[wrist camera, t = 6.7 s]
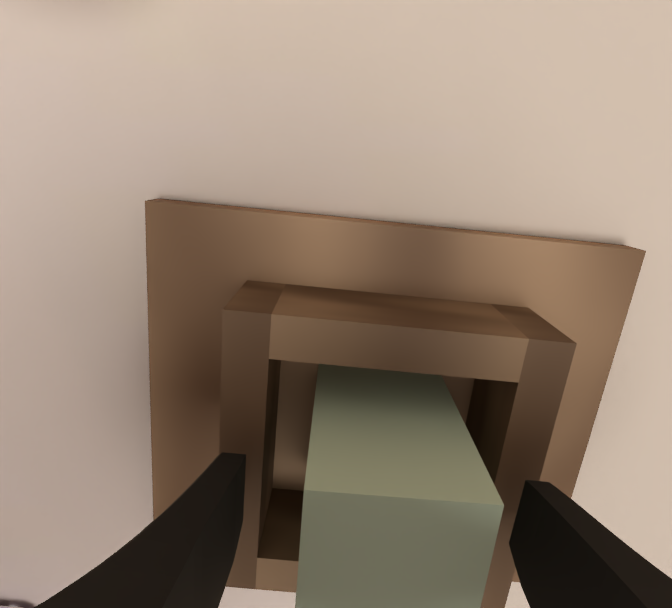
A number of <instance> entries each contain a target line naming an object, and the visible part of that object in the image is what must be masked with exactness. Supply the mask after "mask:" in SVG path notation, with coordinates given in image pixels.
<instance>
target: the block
mask: <svg viewBox="0 0 672 608" xmlns="http://www.w3.org/2000/svg"><path fill="white" fill-rule="evenodd" d="M503 508H504V504H503V502H502V500H501V498H500V496H499V494H498V492H497V489H496V487H495V485H494V483H493V481H492V479H491V477H490V475H489V473H488V471H487V469H486V467H485V465H484V463H483V460H482V458H481V456H480V454H479V452H478V450H477V448H476V446H475V444H474V442H473V440H472V438H471V436H470V434H469V431H468V429H467V427H466V425H465V423H464V421H463V419H462V417H461V415H460V413H459V411H458V409H457V407H456V405H455V403H454V400H453V398H452V396H451V394H450V392H449V390H448V388H447V386H446V384H445V382H444V380H443V378H442V376H441V375H433V374H422V373H412V372H401V371H391V370H380V369H370V368H359V367H349V366H338V365H327V364H319V365H318V373H317V382H316V390H315V399H314V407H313V416H312V424H311V433H310V441H309V450H308V458H307V467H306V475H305V484H304V494H303V508H302V521H301V535H300V549H299V563H298V577H297V590H296V604H295V608H480V607H481V603H482V598H483V594H484V590H485V585H486V581H487V577H488V573H489V568H490V564H491V560H492V555H493V551H494V547H495V542H496V538H497V534H498V530H499V525H500V521H501V517H502V512H503Z"/></svg>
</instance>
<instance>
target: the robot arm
mask: <svg viewBox="0 0 672 608" xmlns="http://www.w3.org/2000/svg"><path fill="white" fill-rule="evenodd" d="M245 469H246V454H236V453H225V452H222V453H221V454H219V455H218V456H217V457H216V458H215V459H214V461H213V462H212V463H211V464H210V465H209V466H208V467H207V468H206V469H205V471H204V472H203V473H202V474H201V475H200V476H199V477H198V478H197V479H196V480H195V481H194V482H193V483H192V484H191V485H190V486H189V487H188V488H187V489H186V490H185V491H184V492H183V493H182V494H181V495H180V496H179V497H178V498H177V499H176V500H175V501H174V502H173V503H172V504H171V505H170V506H169V507H168V508H167V509H166V510H165V511H164V512H163V513H162V514H160V515H159V516H158V517H157V518H156V519H155V520H154V521H153V522H151V523H150V524H149V525H148V526H147V527H146V528H145V529H144V530H142V531H141V532H140V533H139V534H138V535H137V536H135V537H134V538H133V539H132V540H131V541H129V542H128V543H127V544H126V545H124V546H123V547H122V548H121V549H119V550H118V551H117V552H116V553H114V554H113V555H112V556H110V557H109V558H108V559H106V560H105V561H104V562H102V563H101V564H100V565H98V566H97V567H95V568H94V569H93V570H91V571H90V572H88V573H87V574H85V575H84V576H83V577H81V578H80V579H78V580H77V581H75V582H74V583H72V584H71V585H69V586H68V587H66V588H65V589H63V590H62V591H60V592H59V593H57V594H56V595H54V596H53V597H51V598H49V599H48V600H46V601H44V602H43V603H41V604H39V605H38V606H36V607H34V608H218V606H219V603H220V600H221V597H222V595H223V592H224V589H225V586H226V583H227V580H228V577H229V574H230V571H231V568H232V565H233V562H234V558H235V554H236V550H237V545H238V541H239V536H240V532H241V527H242V523H243V513H244V491H245ZM509 546H510V550H511V553H512V557H513V560H514V564H515V567H516V571H517V574H518V577H519V580H520V583H521V586H522V589H523V591H524V594H525V596H526V598H527V601H528V603H529V605H530V608H672V579H671V578H670V577H668V576H667V575H666V574H664V573H663V572H662V571H660V570H659V569H658V568H656V567H655V566H654V565H652V564H651V563H650V562H648V561H647V560H646V559H644V558H643V557H642V556H641V555H639V554H638V553H637V552H635V551H634V550H633V549H632V548H630V547H629V546H628V545H627V544H625V543H624V542H623V541H622V540H620V539H619V538H618V537H617V536H615V535H614V534H613V533H612V532H610V531H609V530H608V529H607V528H606V527H604V526H603V525H602V524H601V523H600V522H598V521H597V520H596V519H595V518H594V517H592V516H591V515H590V514H589V513H587V512H586V511H585V510H584V509H583V508H581V507H580V506H579V505H578V504H577V503H575V502H574V501H573V500H572V499H570V498H569V497H568V496H567V495H566V494H564V493H563V492H562V491H560V490H559V489H558V488H557V487H555V486H554V485H552V484H551V483H550V482H544V481H533V480H525V484H524V487H523V491H522V495H521V499H520V503H519V506H518V510H517V514H516V518H515V521H514V525H513V529H512V533H511V537H510V540H509ZM0 608H23V607H11V606H0Z"/></svg>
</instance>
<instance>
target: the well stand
mask: <svg viewBox="0 0 672 608" xmlns="http://www.w3.org/2000/svg"><path fill="white" fill-rule="evenodd" d="M145 218H146V256H147V293H148V331H149V368H150V406H151V443H152V480H153V518H154V520H155V519H156V518H157V517H158V516H159V515H160V514H162V513H163V512H164V511H165V510H166V509H167V508H168V507H169V506H170V505H171V504H172V503H173V502H174V501H175V500H176V499H177V498H178V497H179V496H180V495H181V494H182V493H183V492H184V491H185V490H186V489H187V488H188V487H189V486H190V485H191V484H192V483H193V482H194V481H195V480H196V479H197V478H198V477H199V476H200V475H201V474H202V473H203V472H204V471H205V469H206V468H207V467H208V466H209V465H210V464H211V463H212V462H213V461H214V459H215V458H216V457H217V456H218V455H219V454H221V453H222V452H225V453H236V454H246V469H245V491H244V513H243V523H242V527H241V532H240V536H239V541H238V545H237V550H236V554H235V558H234V562H233V565H232V568H231V571H230V574H229V577H228V580H227V583H226V587H238V588H249V589H261V590H273V591H284V592H296V590H297V577H298V563H299V549H300V535H301V521H302V508H303V494H304V484H305V475H306V467H307V458H308V450H309V441H310V433H311V424H312V416H313V407H314V399H315V390H316V382H317V373H318V365H319V364H327V365H338V366H349V367H359V368H370V369H380V370H391V371H401V372H412V373H422V374H433V375H441V376H442V378H443V380H444V382H445V384H446V386H447V388H448V390H449V392H450V394H451V396H452V398H453V400H454V403H455V405H456V407H457V409H458V411H459V413H460V415H461V417H462V419H463V421H464V423H465V425H466V427H467V429H468V431H469V434H470V436H471V438H472V440H473V442H474V444H475V446H476V448H477V450H478V452H479V454H480V456H481V458H482V460H483V463H484V465H485V467H486V469H487V471H488V473H489V475H490V477H491V479H492V481H493V483H494V485H495V487H496V489H497V492H498V494H499V496H500V498H501V500H502V502H503V504H504V508H503V512H502V517H501V521H500V525H499V530H498V534H497V538H496V542H495V547H494V551H493V555H492V560H491V564H490V568H489V573H488V577H487V581H486V585H485V590H484V594H483V598H482V603H481V607H480V608H504V607H505V604H506V600H507V596H508V593H509V589H510V586H511V582H512V581H513V582H520V580H519V577H518V574H517V571H516V567H515V564H514V560H513V557H512V553H511V550H510V546H509V540H510V537H511V533H512V529H513V525H514V521H515V518H516V514H517V510H518V506H519V503H520V499H521V495H522V491H523V487H524V484H525V480H533V481H544V482H550V483H551V484H552V485H554V486H555V487H557V488H558V489H559V490H560V491H562V492H563V493H564V494H566V495H567V496H568V497H569V498H570V499H571V497H572V493H573V490H574V487H575V483H576V480H577V477H578V474H579V470H580V467H581V464H582V460H583V457H584V454H585V450H586V447H587V444H588V441H589V437H590V434H591V431H592V427H593V424H594V421H595V418H596V414H597V411H598V408H599V404H600V401H601V398H602V394H603V391H604V388H605V385H606V381H607V378H608V375H609V371H610V368H611V365H612V361H613V358H614V355H615V352H616V348H617V345H618V342H619V338H620V335H621V332H622V329H623V325H624V322H625V319H626V315H627V312H628V309H629V305H630V302H631V299H632V296H633V292H634V289H635V286H636V282H637V279H638V276H639V272H640V269H641V266H642V263H643V259H644V256H645V253H646V251H644V250H640V249H637V248H633V247H629V246H625V245H615V244H605V243H595V242H585V241H575V240H565V239H555V238H545V237H535V236H525V235H515V234H505V233H495V232H485V231H475V230H465V229H456V228H446V227H436V226H426V225H416V224H406V223H396V222H386V221H376V220H366V219H356V218H346V217H336V216H326V215H316V214H306V213H296V212H286V211H276V210H266V209H256V208H246V207H236V206H226V205H216V204H206V203H196V202H186V201H176V200H166V199H154V200H147V201H145Z"/></svg>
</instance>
